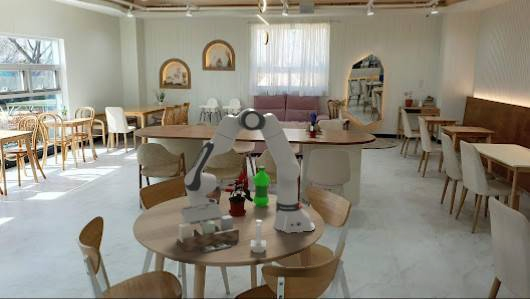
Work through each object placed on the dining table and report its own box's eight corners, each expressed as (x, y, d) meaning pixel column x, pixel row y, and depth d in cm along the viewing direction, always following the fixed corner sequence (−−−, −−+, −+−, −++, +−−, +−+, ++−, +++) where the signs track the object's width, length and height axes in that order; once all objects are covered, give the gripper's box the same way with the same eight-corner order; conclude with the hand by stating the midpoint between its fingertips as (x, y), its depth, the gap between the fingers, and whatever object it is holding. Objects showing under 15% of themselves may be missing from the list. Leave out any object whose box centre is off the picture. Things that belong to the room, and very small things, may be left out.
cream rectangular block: (188, 237, 196) (188, 222, 195) (191, 240, 193) (191, 225, 191) (179, 239, 194) (178, 224, 192) (181, 242, 190) (181, 227, 189)
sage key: (211, 235, 199) (211, 220, 198) (215, 238, 196) (215, 223, 194) (202, 237, 197) (202, 222, 195) (205, 240, 193) (205, 225, 192)
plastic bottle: (249, 206, 249) (250, 167, 245) (259, 201, 258) (260, 164, 253) (262, 209, 244) (263, 169, 239) (272, 205, 252) (273, 166, 247)
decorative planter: (209, 200, 260) (209, 179, 257) (226, 202, 256) (226, 181, 253) (195, 209, 241) (194, 187, 238) (213, 212, 237) (213, 189, 235)
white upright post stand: (266, 246, 193) (266, 216, 190) (265, 255, 183) (266, 224, 180) (251, 245, 193) (251, 216, 190) (250, 254, 183) (250, 224, 180)
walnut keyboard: (228, 231, 210) (228, 221, 208) (244, 244, 194) (244, 233, 193) (176, 241, 196) (176, 231, 195) (189, 256, 180) (189, 245, 179)
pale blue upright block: (229, 229, 207) (229, 215, 206) (232, 232, 204) (232, 217, 202) (220, 231, 205) (220, 216, 203) (223, 234, 201) (223, 219, 200)
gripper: (181, 205, 197) (188, 230, 190) (219, 199, 207) (227, 223, 201) (178, 211, 201) (185, 236, 195) (215, 204, 212) (223, 228, 205)
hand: (206, 229), depth 198 cm, fingers closed, pressing on sage key
